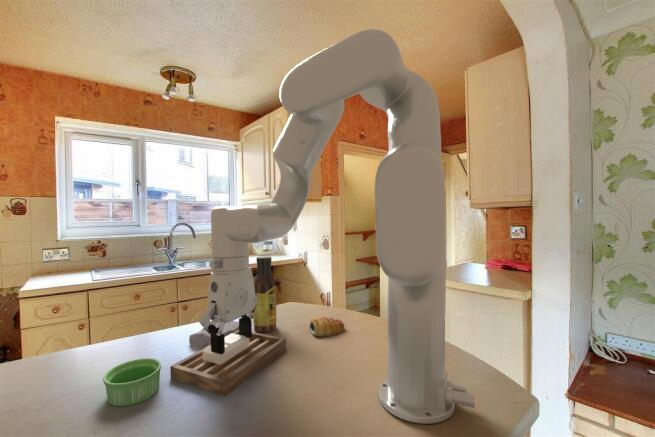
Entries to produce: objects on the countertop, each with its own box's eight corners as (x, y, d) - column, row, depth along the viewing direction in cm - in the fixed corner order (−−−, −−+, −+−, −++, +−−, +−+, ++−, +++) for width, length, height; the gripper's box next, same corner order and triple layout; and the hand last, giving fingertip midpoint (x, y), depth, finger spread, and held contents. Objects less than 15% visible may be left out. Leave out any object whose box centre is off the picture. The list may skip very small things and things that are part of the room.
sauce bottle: (274, 333, 83) (273, 259, 82) (250, 333, 83) (249, 259, 82) (278, 324, 89) (277, 255, 89) (256, 324, 90) (255, 255, 89)
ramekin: (126, 379, 62) (125, 357, 62) (171, 379, 62) (170, 357, 61) (91, 409, 53) (89, 383, 53) (143, 409, 53) (142, 384, 52)
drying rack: (286, 349, 74) (286, 338, 74) (224, 396, 56) (224, 382, 56) (239, 338, 80) (239, 329, 80) (170, 378, 62) (170, 366, 62)
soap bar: (249, 346, 72) (249, 334, 71) (220, 364, 63) (220, 352, 63) (232, 342, 74) (232, 331, 73) (202, 359, 65) (202, 347, 65)
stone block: (185, 355, 75) (219, 353, 72) (182, 335, 76) (216, 332, 73) (217, 337, 87) (248, 334, 84) (214, 320, 87) (245, 316, 84)
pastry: (338, 324, 89) (338, 311, 89) (348, 333, 83) (348, 319, 83) (307, 329, 86) (307, 316, 86) (315, 339, 79) (315, 325, 79)
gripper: (212, 273, 57) (215, 367, 58) (269, 258, 73) (270, 332, 74) (184, 270, 61) (186, 358, 61) (244, 256, 76) (245, 327, 77)
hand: (232, 343), depth 68 cm, fingers open, 7 cm apart
